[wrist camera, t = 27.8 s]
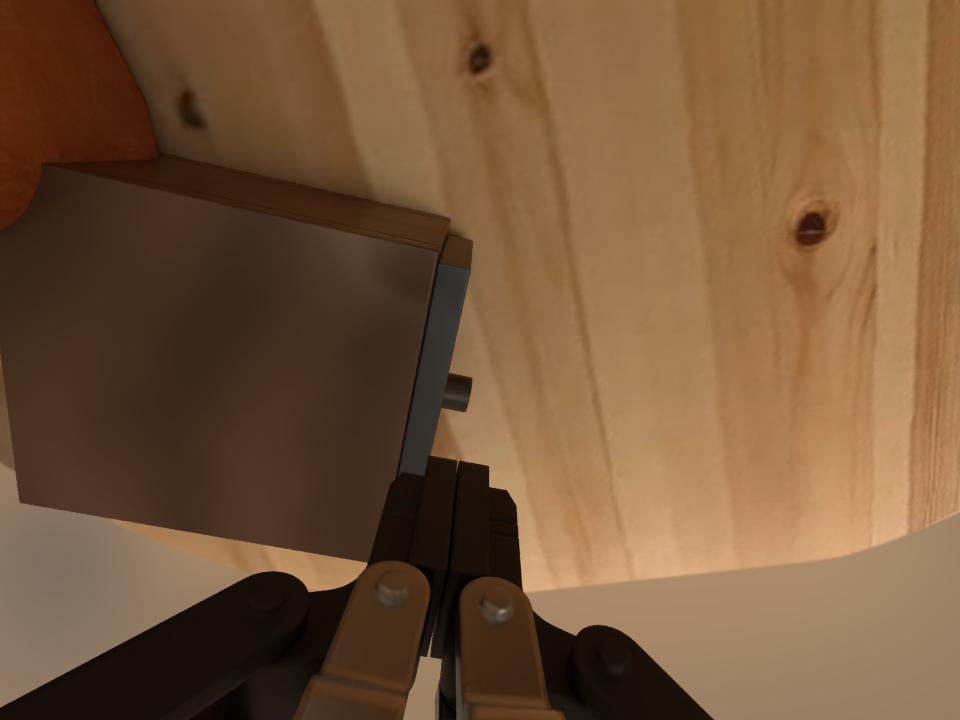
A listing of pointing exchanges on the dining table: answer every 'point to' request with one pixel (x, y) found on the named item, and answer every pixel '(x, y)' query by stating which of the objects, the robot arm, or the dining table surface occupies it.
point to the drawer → (438, 357)
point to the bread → (62, 96)
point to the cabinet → (213, 350)
